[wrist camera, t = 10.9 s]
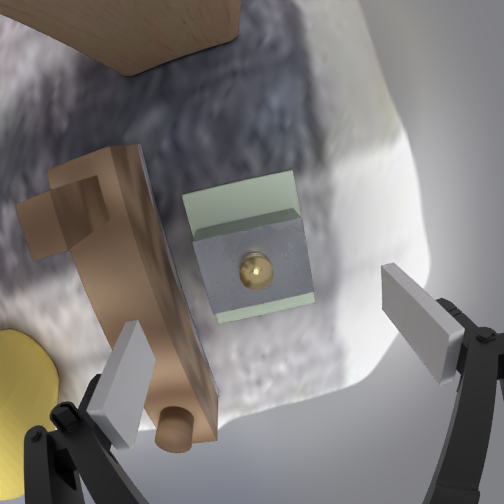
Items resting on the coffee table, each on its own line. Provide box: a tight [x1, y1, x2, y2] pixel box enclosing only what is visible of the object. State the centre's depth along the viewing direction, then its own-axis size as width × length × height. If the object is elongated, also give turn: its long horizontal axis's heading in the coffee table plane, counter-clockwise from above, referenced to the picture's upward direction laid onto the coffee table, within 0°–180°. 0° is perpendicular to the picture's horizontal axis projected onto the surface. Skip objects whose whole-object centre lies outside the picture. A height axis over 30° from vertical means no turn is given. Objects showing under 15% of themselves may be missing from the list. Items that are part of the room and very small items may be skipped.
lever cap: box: [192, 208, 314, 314], centre depth 25 cm, size 6×8×5 cm
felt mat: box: [182, 170, 315, 323], centre depth 28 cm, size 12×9×1 cm
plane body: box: [15, 144, 219, 453], centre depth 23 cm, size 26×5×13 cm, turn 12°
